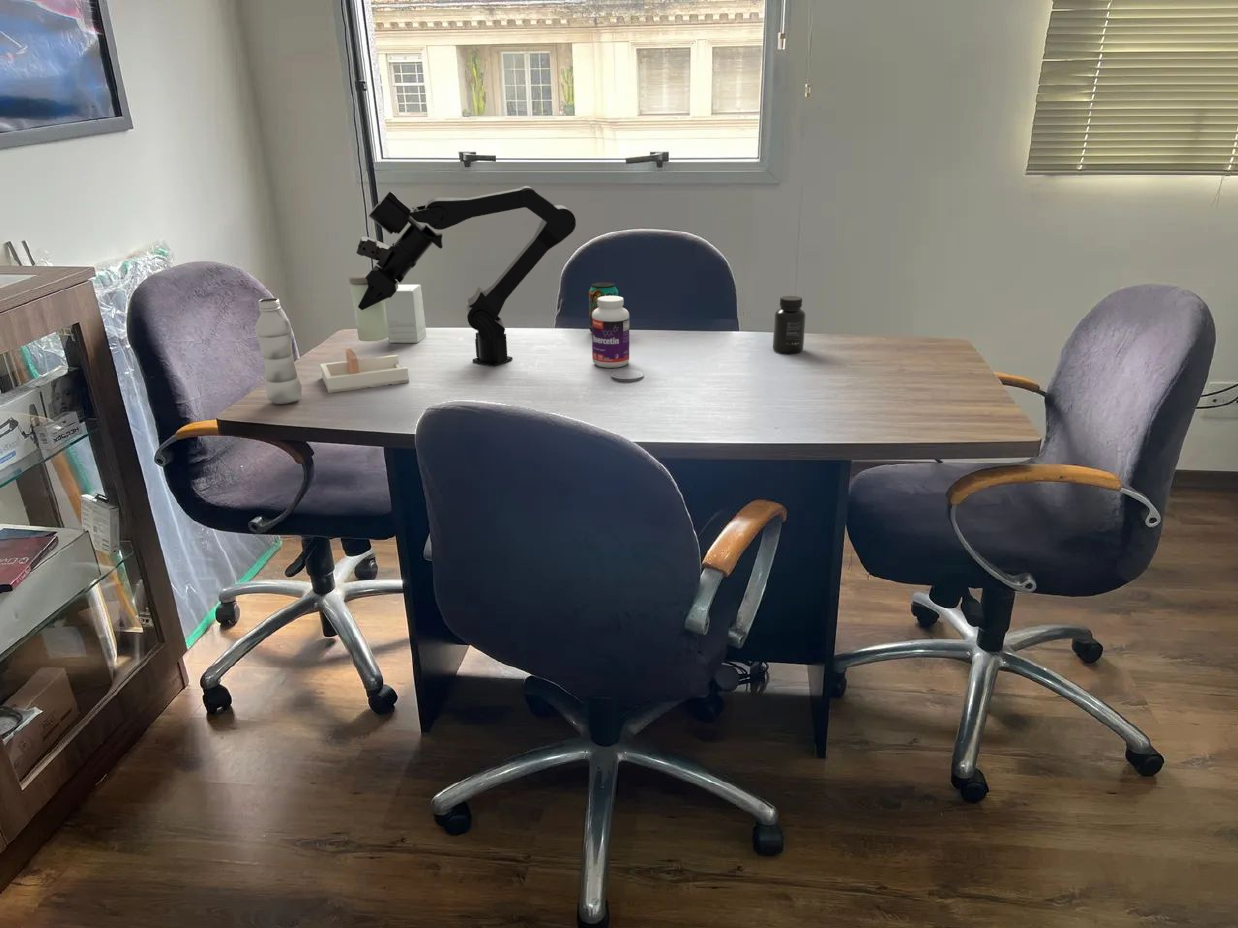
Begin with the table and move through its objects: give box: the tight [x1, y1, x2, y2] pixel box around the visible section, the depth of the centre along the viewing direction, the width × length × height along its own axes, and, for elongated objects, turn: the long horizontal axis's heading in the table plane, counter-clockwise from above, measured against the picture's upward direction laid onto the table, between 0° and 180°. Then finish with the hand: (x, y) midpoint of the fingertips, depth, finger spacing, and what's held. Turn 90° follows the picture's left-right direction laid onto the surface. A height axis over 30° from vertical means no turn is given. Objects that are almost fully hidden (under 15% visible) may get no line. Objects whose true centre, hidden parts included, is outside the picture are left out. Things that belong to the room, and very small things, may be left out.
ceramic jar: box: [348, 273, 389, 342], centre depth 188 cm, size 7×7×13 cm
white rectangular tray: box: [319, 354, 410, 394], centre depth 184 cm, size 16×11×3 cm
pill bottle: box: [591, 295, 630, 369], centre depth 191 cm, size 8×8×14 cm
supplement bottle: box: [772, 295, 806, 355], centre depth 199 cm, size 7×7×12 cm
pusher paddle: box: [345, 348, 359, 374], centre depth 183 cm, size 1×8×5 cm, turn 24°
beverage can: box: [588, 281, 619, 333], centre depth 215 cm, size 7×7×12 cm
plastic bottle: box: [254, 297, 303, 405], centre depth 168 cm, size 6×7×20 cm
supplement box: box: [384, 284, 427, 344], centre depth 212 cm, size 7×7×13 cm
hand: (362, 305), depth 187 cm, fingers closed on ceramic jar, 6 cm apart
